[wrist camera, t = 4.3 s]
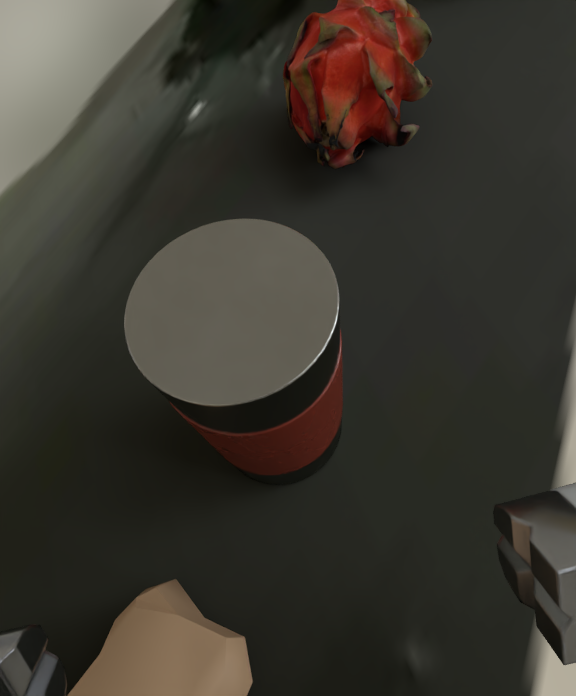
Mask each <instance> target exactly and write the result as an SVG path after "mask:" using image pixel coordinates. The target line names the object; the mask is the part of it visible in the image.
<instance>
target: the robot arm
mask: <svg viewBox="0 0 576 696" xmlns="http://www.w3.org/2000/svg"><path fill="white" fill-rule="evenodd" d="M493 514H494V524H495V525H496V527H497V528H498V529H499V531H500V532H501V533H502V534H503V535H502V536H501V538H500V540H499V541H498V543H497V549H498V556H499V561H500V564H501V566H502V569H503V572H504V575H505V577H506V579H507V581H508V583H509V585H510V587H511V589H512V590H513V592H514V593H515V595H516V596H517V598H518V599H519V601H520V602H521V603H523V604H525V605H527V606H529V607H530V608H532V609H534V610H535V615H536V625H537V627H538V629H539V630H540V632H541V633H542V634H543V636H544V637H545V639H546V640H547V642H548V643H549V645H550V646H551V647H552V649H553V650H554V652H555V653H556V654H557V656H558V658H559V659H560V660H561V662H562V663H563V665H567V664H571V663H576V483H573V484H569V485H566V486H562V487H558V488H555V489H551V490H550V491H545V492H541V493H538V494H534V495H530V496H526V497H523V498H519V499H515V500H511V501H508V502H504V503H500V504H496V505H495V507H494V511H493ZM48 639H49V638H48V637H47V635H46V634H45V632H44V630H43V629H42V627H41V626H40V625H27V626H22V627H18V628H14V629H9V630H5V631H1V632H0V696H66V689H67V678H66V673H65V668H64V666H63V664H62V662H61V660H60V658H59V657H58V656H56V655H54V654H52V653H50V652H48V651H46V650H45V649H46V646H47V643H48Z"/></svg>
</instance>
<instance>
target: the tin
mask: <svg viewBox="0 0 576 696" xmlns="http://www.w3.org/2000/svg"><path fill="white" fill-rule="evenodd" d="M124 331H125V338H126V343H127V346H128V350H129V353H130V355H131V357H132V359H133V361H134V363H135V365H136V366H137V368H138V369H139V370H140V372H141V373H142V375H143V376H144V377H145V378H146V379H147V380H148V381H149V382H150V383H151V384H152V385H153V386H154V387H155V388H156V389H157V390H158V391H159V392H160V393H161V394H162V395H163V396H164V397H165V398H166V399H167V400H168V401H169V402H170V404H171V405H172V406H173V408H174V409H175V410H176V411H177V412H178V413H179V414H180V415H181V416H182V417H183V418H184V419H185V420H186V421H187V422H188V423H189V424H190V425H191V426H193V427H194V428H195V429H196V430H197V431H198V432H199V433H200V434H201V435H202V436H203V437H204V438H205V439H206V440H207V441H208V442H209V443H210V444H211V445H212V446H213V447H214V448H215V449H216V450H217V451H218V452H219V453H220V454H221V455H222V456H223V457H224V458H225V459H227V460H228V461H229V462H230V463H232V464H233V465H234V466H235V467H236V468H237V469H238V470H239V471H241V472H242V473H243V474H245V475H246V476H248V477H250V478H251V479H254V480H256V481H259V482H262V483H266V484H274V485H282V484H290V483H295V482H298V481H301V480H303V479H305V478H307V477H309V476H311V475H313V474H314V473H316V472H317V471H318V470H319V469H320V468H322V467H323V466H324V465H325V464H326V462H327V461H328V460H329V459H330V457H331V456H332V454H333V453H334V451H335V449H336V447H337V444H338V441H339V438H340V434H341V425H342V406H343V401H342V338H341V330H340V299H339V288H338V284H337V280H336V276H335V274H334V271H333V269H332V267H331V265H330V263H329V262H328V260H327V258H326V257H325V255H324V254H323V253H322V252H321V251H320V249H319V248H318V247H317V246H316V245H315V244H314V243H313V242H311V241H310V240H309V239H308V238H306V237H305V236H304V235H302V234H301V233H299V232H297V231H295V230H293V229H291V228H289V227H287V226H284V225H281V224H278V223H275V222H270V221H266V220H259V219H231V220H224V221H219V222H214V223H211V224H207V225H204V226H201V227H199V228H196V229H194V230H191V231H189V232H187V233H185V234H184V235H182V236H180V237H178V238H177V239H175V240H174V241H172V242H171V243H169V244H168V245H166V246H165V247H164V248H163V249H162V250H160V251H159V252H158V253H157V254H156V255H155V256H154V257H153V258H152V259H151V260H150V261H149V262H148V264H147V265H146V266H145V268H144V269H143V270H142V271H141V273H140V275H139V276H138V278H137V280H136V281H135V283H134V285H133V288H132V290H131V292H130V295H129V298H128V301H127V304H126V310H125V316H124Z"/></svg>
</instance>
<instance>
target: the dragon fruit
mask: <svg viewBox="0 0 576 696" xmlns="http://www.w3.org/2000/svg"><path fill="white" fill-rule="evenodd" d="M431 41H432V34H431V32H430V29H429V27H428V26H427V24H426V23H425V22H424V21H423V20H422V19H420V13H419V11H418V10H417V9H416V8H415V7H413V6H412V5H410V4H408V3H407V2H406V0H338V3H337V6H336V8H335V9H334V10H332V11H330V12H328V13H326V14H320V13H316V12H313V13H311V14H310V15H309V16H308V17H307V18H306V19H305V20H304V21H303V22H302V24H301V26H300V28H299V30H298V33H297V38H296V40H295V43H294V45H293V48H292V50H291V53H290V54H289V56H288V59H287V61H286V63H285V65H284V70H283V79H284V86H285V90H286V101H287V102H286V103H287V117H288V115H289V117H288V123H289V126H290V128H291V129H292V128H293V126H292V124H293V125H294V127H295V129H296V130H297V132H298V134H299V136H300V137H301V138H302V140H303V141H304V142H305V144H306V146H307V147H308V148H310V149H314V150H316V151H317V156H318V161H317V162H318V163H320V164H321V165H322V166H324V162H325V161H326V160H327V161H328V165H329V166H331V167H332V168H334V169H337V168H339V167H342V166H343V167H344V165H347V164H353V163H355V162H357V160H358V159H360V157H361V156H362V154H363V152H364V150H362V151H361V152H360V153H358V151H355V152H354V149H355V147H356V146H357V145H358V144H360V143H362V142H363V141H365V140H367V139H368V138H370V137H371V136H372V137H373V138H374V139H376V140H377V141H378V142H380V143H384V145H385V146H387V147H388V145H392V146H402V145H405V144H407V143H408V142H409V141H410V139H411V138H412V137H413V136H414V135H415V134H416V132H417V131H418V128H419V126H418V125H414V124H408V125H401V124H400V102H401V100H405V101H410V102H413V101H416V100H419V99H421V98H423V97H424V96H425V95H426V94H427V92H428V91H429V89H430V88H431V87H432V81H431V79H430V78H429V77H427V76H425V78H424V77H423V76H421V75H420V74H421V73H420V72H419V70H418V69H417V68H416V67H415V66H414V65H413V62H414V61H416V60H418V59H420V58H421V57H422V56H423V55H424V53H425V51H426V50H427V48H428V46H429V44H430V43H431ZM419 73H420V74H419ZM290 113H291V114H292V115H291V114H290ZM353 152H354V153H353ZM357 154H359V155H358V156H357V157H356V155H357ZM343 167H342V168H343Z"/></svg>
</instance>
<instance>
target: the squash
mask: <svg viewBox="0 0 576 696" xmlns="http://www.w3.org/2000/svg"><path fill="white" fill-rule="evenodd" d="M252 682H253V681H252V675H251V670H250V664H249V658H248V653H247V647H246V641H245V637H243V636H241V635H239V634H237V633H235V632H233V631H231V630H229V629H227V628H225V627H222V626H220V625H218V624H216V623H214V622H212V621H210V620H208V619H206V618H204V616H203V615H202V614H201V612H200V611H199V610H198V608H197V607H196V606H195V604H194V603H193V601H192V600H191V599H190V597H189V596H188V595H187V593H186V592H185V591H184V589H183V588H182V587H181V585H180V584H179V582H178V581H177V580H176V579H174V580H171V581H168V582H165V583H162V584H159V585H156V586H153V587H150V588H147V589H146V590H145V591H143V592H142V593H141V594H140V595H139V596H138V597H136V598H135V599H134V600H133V602H132V603H131V604H130V605H129V606H128V607H127V608H126V609H125V610H124V611H123V612H122V613H121V614H120V615H119V616H118V617H117V618H116V619H115V621H114V623H113V626H112V628H111V630H110V632H109V635H108V637H107V639H106V641H105V644H104V646H103V648H102V651H101V653H100V654H99V656H98V657H97V658H96V660H95V661H94V662H93V663H92V665H91V666H90V667H89V669H88V670H87V671H86V672H85V674H84V675H83V676H82V678H81V679H80V680H79V681H78V683H77V684H76V685H75V687H74V688H73V689H72V690H71V692H70V693H69V694H68V696H247V694H248V692H249V689H250V687H251V684H252Z"/></svg>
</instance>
